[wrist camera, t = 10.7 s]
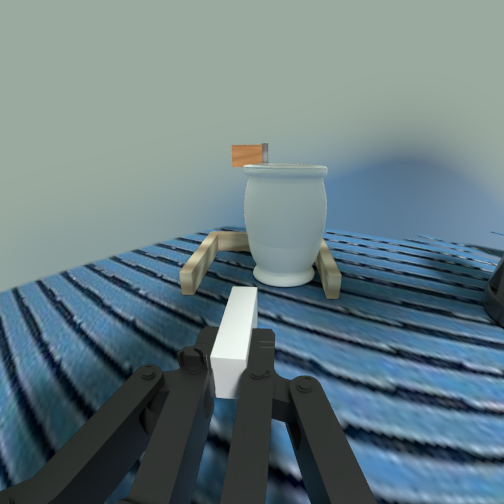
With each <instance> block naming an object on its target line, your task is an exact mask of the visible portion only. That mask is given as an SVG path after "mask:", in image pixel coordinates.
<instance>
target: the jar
mask: <svg viewBox="0 0 504 504" xmlns="http://www.w3.org/2000/svg"><path fill="white" fill-rule="evenodd" d="M244 173H245V174H246V175H248V183H247V186H246V191H245V200H244V216H245V225H246V230H247V234H248V241H249V247H250V251H251V254H252V256H253V259H254V261H255V262H256V264H257V265H256V266H255V268H254V270H253V275H254V277H255V278H256V279H257V280H258V281H260V282H262V283H264V284H267V285H271V286H276V287H295V286H300V285H303V284H306V283H308V282H310V281H311V280H312V279H313V278H314V275H315V272H314V269H313V267H312V265H313V263H314V261H315V260H316V258H317V255H318V253H319V250H320V246H321V241H322V236H323V233H324V229H325V223H326V215H327V201H326V190H325V186H324V183H323V177H324V176H326V175H327V173H328V169H327V167H324V166H320V165H310V164H286V163H265V164H250V165H245V166H244Z"/></svg>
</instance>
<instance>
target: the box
mask: <svg viewBox="0 0 504 504" xmlns="http://www.w3.org/2000/svg"><path fill="white" fill-rule="evenodd" d="M232 163H233V164H232V166H233V167H244V166H245V165H250V164H265V163H268V144H266V143H264V144H262V145H232ZM218 251H250V247H249V241H248V234H247V232H217V231H211V232H210V234H209V235H208V236H207V237H206V239H205V240H204V241H203V242H202V244H201V245H200V246H199V248H198V249H197V250H196V251H195V253H194V254H193V255H192V257H191V258H190V259H189V260H188V262H187V263H186V264H185V266H184V267H183V268H182V270H181V271H180V272H179V274H180V282H181V289H182V295H194V294H195V292H196V290H197V288H198V287H199V285H200V283H201V281H202V279H203V278H204V276H205V274H206V272H207V270H208V269H209V267H210V265H211V263H212V262H213V260H214V258H215V256H216V254H217V253H218ZM315 263H316V266H317V269H318V273H319V276H320V279H321V282H322V285H323V289H324V292H325V295H326V298H327V299H339V293H340V286H341V278H342V275H341V273H340V271H339V269H338V267H337V265H336V263H335V261H334V259H333V257H332V255H331V253H330V251H329V249H328V247H327V245H326V243H325V241H324V239H323V237H322V241H321V246H320V250H319V253H318V255H317V258H316V260H315Z"/></svg>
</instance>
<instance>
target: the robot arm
mask: <svg viewBox="0 0 504 504" xmlns="http://www.w3.org/2000/svg"><path fill="white" fill-rule="evenodd" d="M482 301H483V305H484V307H485V309H486V310H487V312H488V313H489V314H490V316H491V317H492V318H493V319H494V320H495V321H496V322H498V323H499V324H500V325H501V326H503V327H504V255H503V256H502V258H501V260H500V262H499V263H498V265H497V267H496V269H495V270H494V272H493V274H492V275H491V277H490V279H489V280H488V282H487V284H486V287H485V291H484V294H483V297H482ZM274 352H275V334H274V332H273V331H272V329H260V328H257V287H233V288H232V291H231V294H230V297H229V300H228V303H227V306H226V309H225V312H224V315H223V318H222V322H221V325H220V327H209V326H206V327H205V328H203V329H202V330H201V331H200V333H199V335H198V338H197V340H196V342H195V345H194V346H189V347H185V348H183V349H181V350H180V351H179V352H178V353H177V357H178V362H179V366H180V368H179V369H177V370H173V371H164V372H162V370H161V368H160V367H158V366H157V365H152V364H150V365H144V366H141V367H140V368H139V369H137V370H136V371H135V372H134V373H133V374H132V375H131V376H130V377H129V379H128V380H127V381H126V382H125V383H124V384H123V385H122V386H121V387H120V388H119V389H118V390H117V391H116V392H115V393H114V394H113V395H112V396H111V397H110V398H109V399H108V400H107V401H106V402H105V403H104V404H103V405H102V406H101V407H100V409H99V410H98V411H97V412H96V413H95V414H94V415H93V416H92V417H91V418H90V419H89V420H88V421H87V422H86V423H85V424H84V425H83V426H82V427H81V428H80V429H79V430H78V431H77V432H76V433H75V434H74V435H73V436H72V438H71V439H70V440H69V441H68V442H67V443H66V444H65V445H64V446H63V447H62V448H61V449H60V450H59V451H58V452H57V453H56V454H55V455H54V456H53V457H52V458H51V459H50V460H49V461H48V462H47V463H46V464H45V466H44V467H43V468H42V469H41V470H40V471H39V472H38V473H37V474H36V475H35V476H34V477H33V478H31V479H28V480H26V481H24V482H21V483H19V484H17V485H14V486H12V487H9V488H7V489H4V490H2V491H0V504H103V503H104V502H105V501H106V499H107V498H108V497H109V496H110V494H111V493H112V492H113V491H114V489H115V488H116V487H117V486H118V484H119V483H120V482H121V481H122V479H123V478H124V477H125V475H126V474H127V473H128V471H129V470H130V469H131V468H132V466H133V465H134V464H135V462H136V461H137V460H138V458H139V457H140V456H141V455H142V453H143V452H144V451H145V449H146V448H147V449H146V451H145V454H144V457H143V459H142V462H141V464H140V467H139V469H138V472H137V474H136V477H135V480H134V482H133V485H132V487H131V490H130V493H129V495H128V496H127V497H126V498H124V499H121V500H120V501H119V502H118V503H117V504H190V503H191V499H192V495H193V491H194V487H195V483H196V479H197V475H198V471H199V466H200V462H201V458H202V454H203V450H204V446H205V442H206V438H207V434H208V430H209V425H210V421H211V417H212V413H213V409H214V399H213V398H214V394H215V393H216V397H217V398H227V399H238V405H237V411H236V417H235V422H234V428H233V434H232V439H231V445H230V451H229V456H228V462H227V467H226V473H225V478H224V483H223V489H222V494H221V500H220V504H265V502H266V490H267V477H268V464H269V450H270V434H271V418H272V419H276V420H279V421H282V422H285V424H286V427H287V431H288V434H289V437H290V440H291V443H292V447H293V450H294V453H295V456H296V459H297V462H298V466H299V469H300V472H301V475H302V478H303V481H304V484H305V487H306V490H307V493H308V497H309V500H310V503H311V504H377V502H376V500H375V498H374V496H373V494H372V492H371V489H370V487H369V485H368V483H367V481H366V479H365V477H364V475H363V473H362V470H361V468H360V466H359V464H358V462H357V460H356V458H355V456H354V453H353V451H352V449H351V447H350V445H349V443H348V441H347V439H346V437H345V435H344V432H343V430H342V428H341V426H340V424H339V422H338V420H337V418H336V416H335V414H334V411H333V409H332V407H331V405H330V403H329V401H328V399H327V397H326V395H325V393H324V390H323V388H322V386H321V384H320V383H319V381H318V380H317V379H315V378H313V377H311V376H298V377H295V378H294V379H293V380H288V379H285V378H282V377H281V376H279V375H278V374H277V373H276V372H275V370H274Z"/></svg>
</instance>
